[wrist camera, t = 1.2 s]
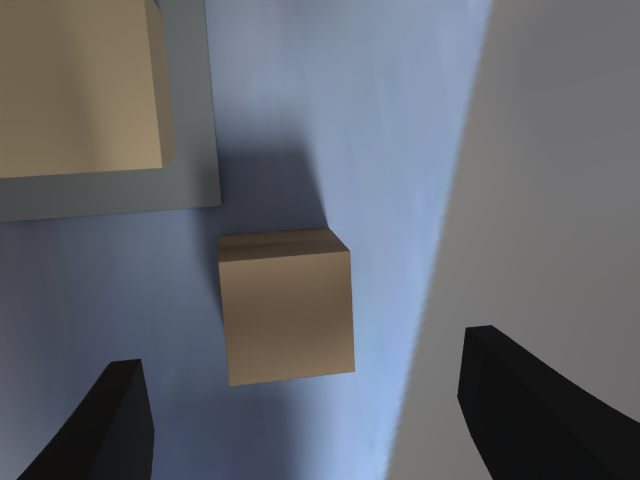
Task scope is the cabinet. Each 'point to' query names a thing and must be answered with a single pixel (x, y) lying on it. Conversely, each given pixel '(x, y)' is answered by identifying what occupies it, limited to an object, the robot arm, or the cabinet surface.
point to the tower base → (142, 182)
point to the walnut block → (286, 305)
